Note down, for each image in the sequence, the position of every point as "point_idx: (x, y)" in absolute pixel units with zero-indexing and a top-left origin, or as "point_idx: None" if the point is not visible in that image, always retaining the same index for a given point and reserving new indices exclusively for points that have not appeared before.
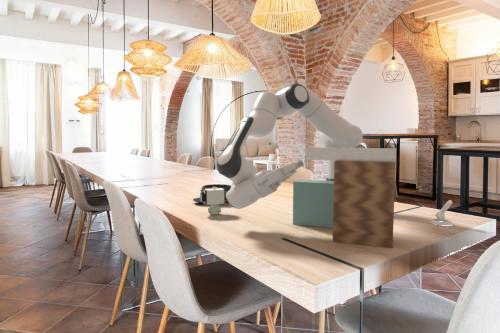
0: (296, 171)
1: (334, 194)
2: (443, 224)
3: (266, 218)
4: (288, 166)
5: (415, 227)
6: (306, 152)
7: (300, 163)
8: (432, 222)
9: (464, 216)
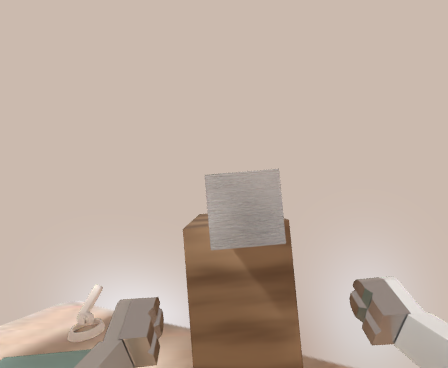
0: None
1: (299, 334)
2: (102, 326)
3: None
4: (443, 328)
5: None
6: (280, 198)
7: (154, 321)
8: (84, 336)
9: (38, 317)
